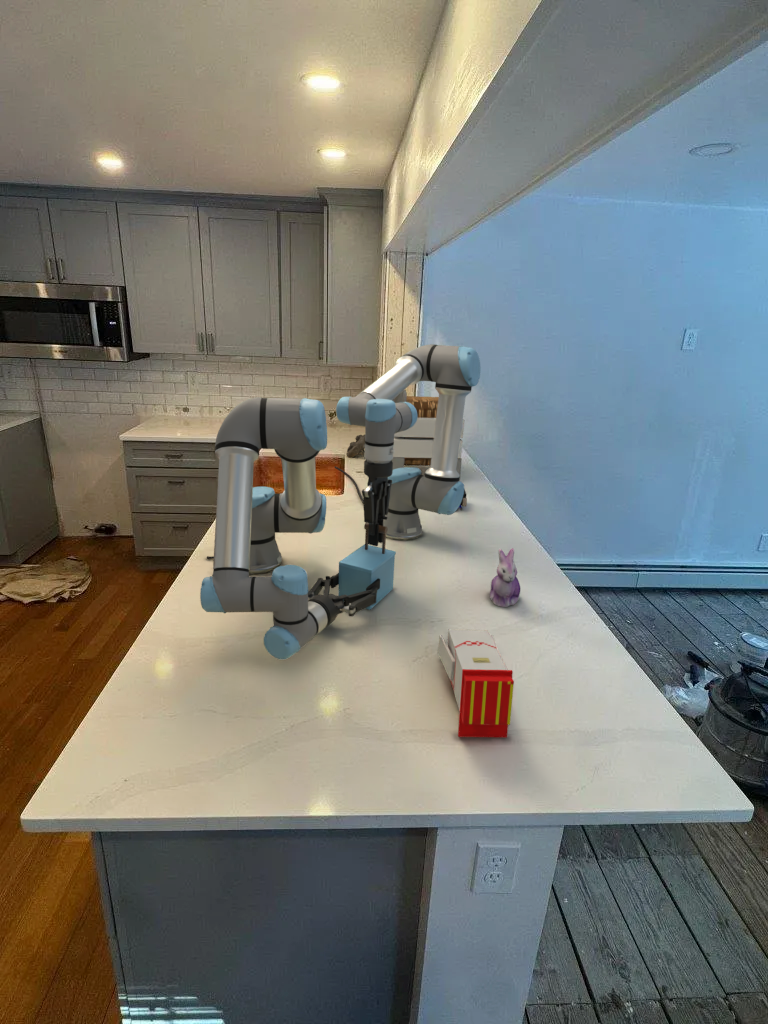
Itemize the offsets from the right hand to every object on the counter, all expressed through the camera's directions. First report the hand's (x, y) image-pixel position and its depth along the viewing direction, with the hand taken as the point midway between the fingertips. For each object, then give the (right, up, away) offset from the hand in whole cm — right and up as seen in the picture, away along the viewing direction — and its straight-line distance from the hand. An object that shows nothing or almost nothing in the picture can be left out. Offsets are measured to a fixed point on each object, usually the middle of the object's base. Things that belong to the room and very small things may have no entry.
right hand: (375, 543), depth 156 cm
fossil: (-11, +40, +151) cm, 157 cm away
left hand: (-4, -9, -4) cm, 11 cm away
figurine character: (+32, +11, +75) cm, 82 cm away
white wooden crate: (+20, +27, +119) cm, 124 cm away
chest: (-2, -14, +1) cm, 15 cm away
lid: (-2, -4, -2) cm, 5 cm away
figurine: (+36, -16, +2) cm, 39 cm away
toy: (+20, -29, -37) cm, 51 cm away
